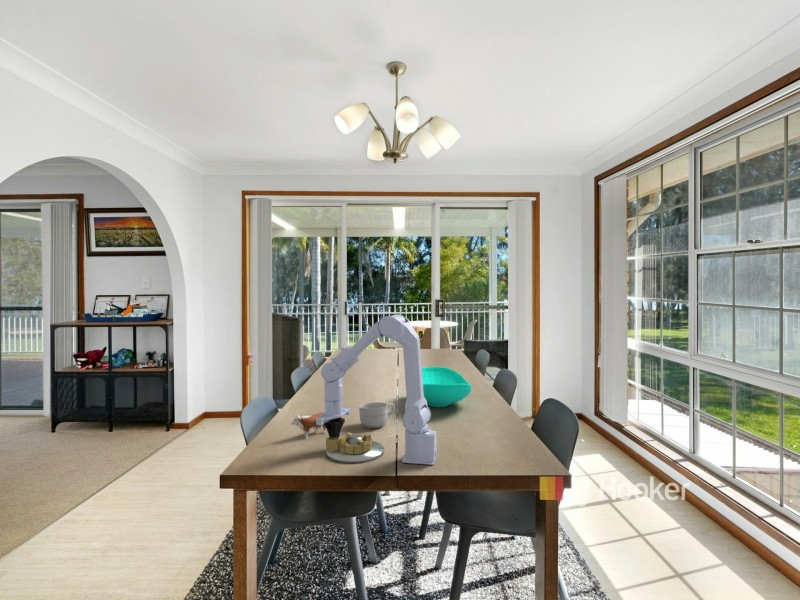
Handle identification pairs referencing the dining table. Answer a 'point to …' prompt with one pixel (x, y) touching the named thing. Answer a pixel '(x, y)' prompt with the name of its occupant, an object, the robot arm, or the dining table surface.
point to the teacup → (374, 414)
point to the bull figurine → (308, 423)
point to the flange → (356, 458)
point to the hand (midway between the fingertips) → (334, 441)
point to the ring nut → (347, 448)
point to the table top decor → (443, 386)
